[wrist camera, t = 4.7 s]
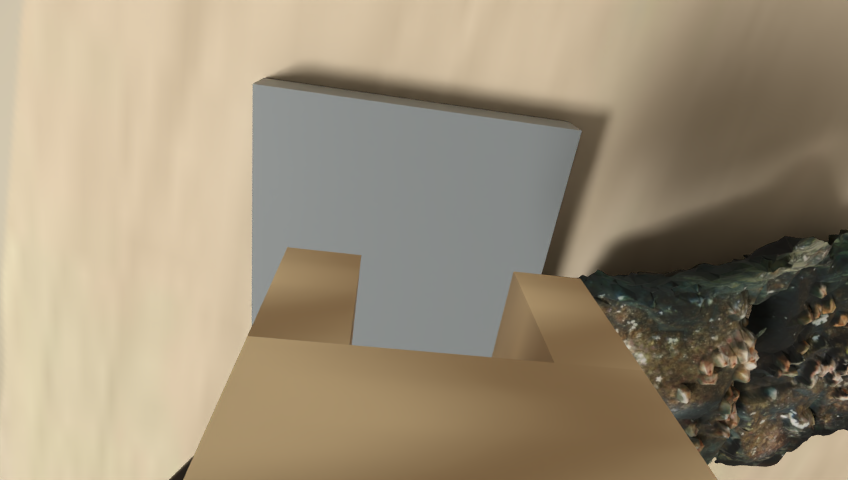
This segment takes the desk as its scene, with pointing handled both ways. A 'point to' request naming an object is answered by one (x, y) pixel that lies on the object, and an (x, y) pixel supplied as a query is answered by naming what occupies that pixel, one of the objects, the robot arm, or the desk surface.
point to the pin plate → (407, 205)
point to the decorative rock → (743, 345)
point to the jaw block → (437, 394)
